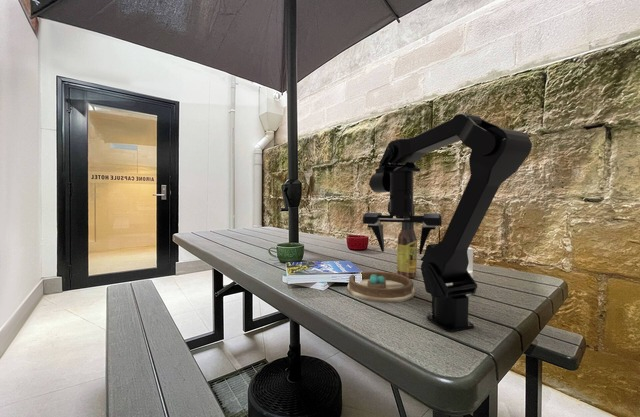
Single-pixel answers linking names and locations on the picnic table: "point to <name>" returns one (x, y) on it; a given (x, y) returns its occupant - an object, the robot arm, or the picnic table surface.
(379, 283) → the toy potted plant
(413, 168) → the robot arm
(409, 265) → the sauce bottle
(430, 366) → the picnic table surface
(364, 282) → the ring tray
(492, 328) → the picnic table surface
